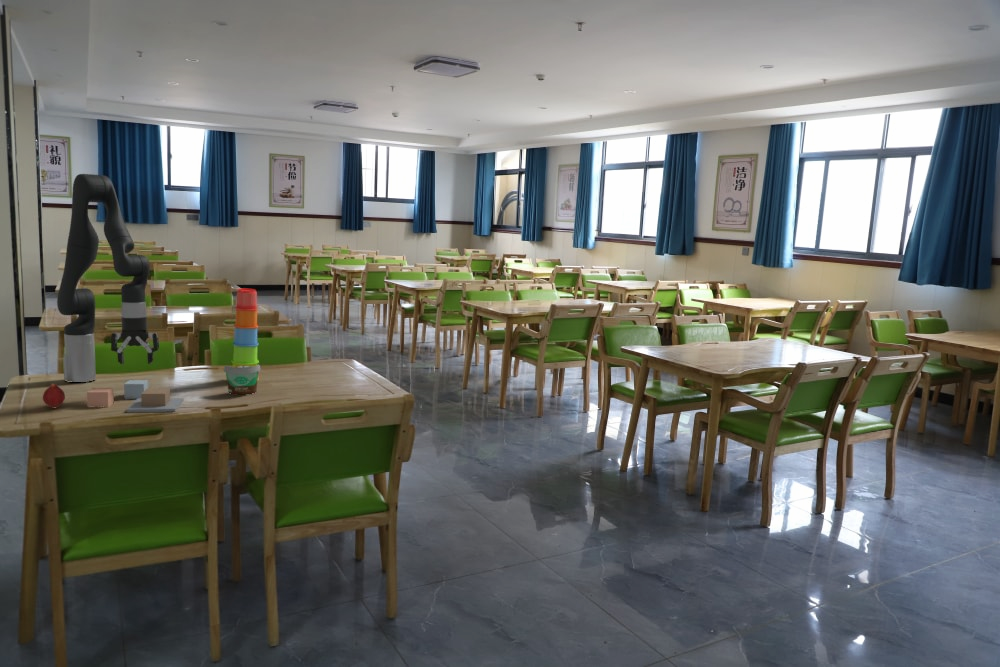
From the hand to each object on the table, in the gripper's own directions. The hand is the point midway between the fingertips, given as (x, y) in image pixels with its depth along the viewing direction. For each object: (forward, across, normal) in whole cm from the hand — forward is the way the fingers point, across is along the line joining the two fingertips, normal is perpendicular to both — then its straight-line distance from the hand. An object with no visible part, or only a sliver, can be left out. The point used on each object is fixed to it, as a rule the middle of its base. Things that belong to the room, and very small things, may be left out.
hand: (135, 363), depth 245 cm
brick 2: (+11, 0, 0) cm, 11 cm away
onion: (+11, -20, -15) cm, 27 cm away
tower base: (+11, +9, -14) cm, 20 cm away
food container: (+12, +34, +2) cm, 36 cm away
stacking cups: (+12, +32, +24) cm, 42 cm away
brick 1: (+11, -8, -11) cm, 18 cm away
